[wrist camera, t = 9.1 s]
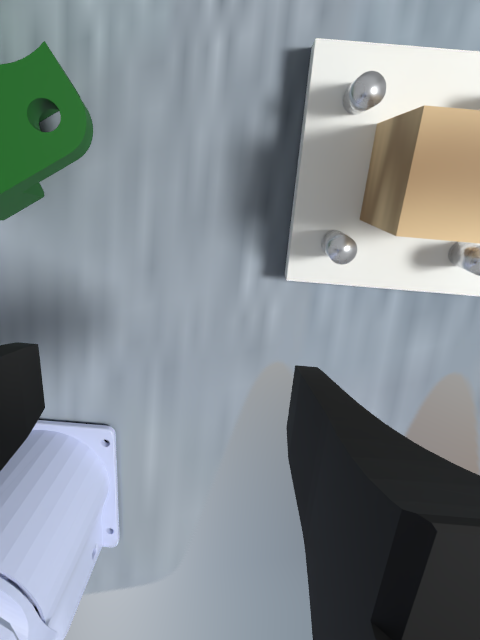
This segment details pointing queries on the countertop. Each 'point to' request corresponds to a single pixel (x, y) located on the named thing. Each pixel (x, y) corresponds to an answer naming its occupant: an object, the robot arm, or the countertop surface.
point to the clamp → (37, 127)
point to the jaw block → (426, 175)
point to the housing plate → (353, 164)
